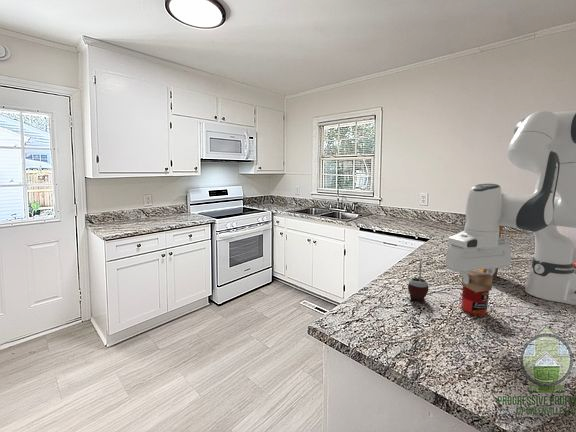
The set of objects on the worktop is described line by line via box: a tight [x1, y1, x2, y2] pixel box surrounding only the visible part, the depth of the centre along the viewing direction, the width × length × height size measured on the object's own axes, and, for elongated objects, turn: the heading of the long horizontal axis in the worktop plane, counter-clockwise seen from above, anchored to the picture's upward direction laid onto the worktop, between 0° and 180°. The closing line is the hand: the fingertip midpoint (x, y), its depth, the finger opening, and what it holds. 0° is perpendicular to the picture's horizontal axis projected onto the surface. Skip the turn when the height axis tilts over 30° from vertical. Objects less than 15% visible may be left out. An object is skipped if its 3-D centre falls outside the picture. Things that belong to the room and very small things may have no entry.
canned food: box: [460, 286, 490, 317], centre depth 104 cm, size 8×8×11 cm
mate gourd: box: [407, 258, 429, 305], centre depth 113 cm, size 8×8×15 cm
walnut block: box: [461, 270, 494, 292], centre depth 92 cm, size 6×6×4 cm
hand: (476, 282), depth 92 cm, fingers closed on walnut block, 5 cm apart
